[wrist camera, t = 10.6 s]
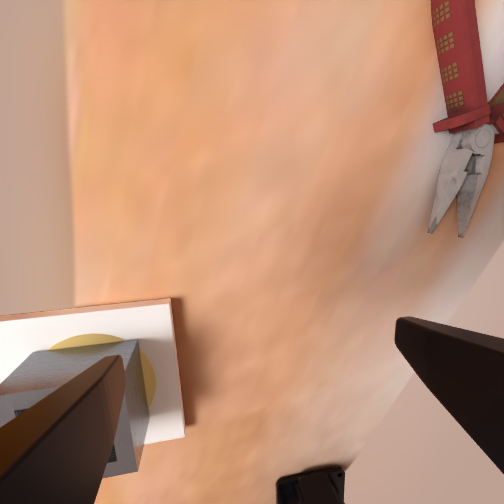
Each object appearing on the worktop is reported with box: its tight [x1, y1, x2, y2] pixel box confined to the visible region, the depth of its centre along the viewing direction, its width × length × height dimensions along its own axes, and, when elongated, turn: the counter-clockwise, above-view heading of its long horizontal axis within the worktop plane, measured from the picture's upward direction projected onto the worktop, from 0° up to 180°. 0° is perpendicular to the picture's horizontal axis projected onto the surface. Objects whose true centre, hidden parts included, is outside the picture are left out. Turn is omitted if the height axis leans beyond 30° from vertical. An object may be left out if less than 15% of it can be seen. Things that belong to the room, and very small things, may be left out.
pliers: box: [428, 0, 504, 238], centre depth 20 cm, size 12×20×3 cm, turn 172°
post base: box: [0, 298, 185, 444], centre depth 18 cm, size 11×11×6 cm
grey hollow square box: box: [0, 339, 150, 478], centre depth 17 cm, size 6×6×4 cm
